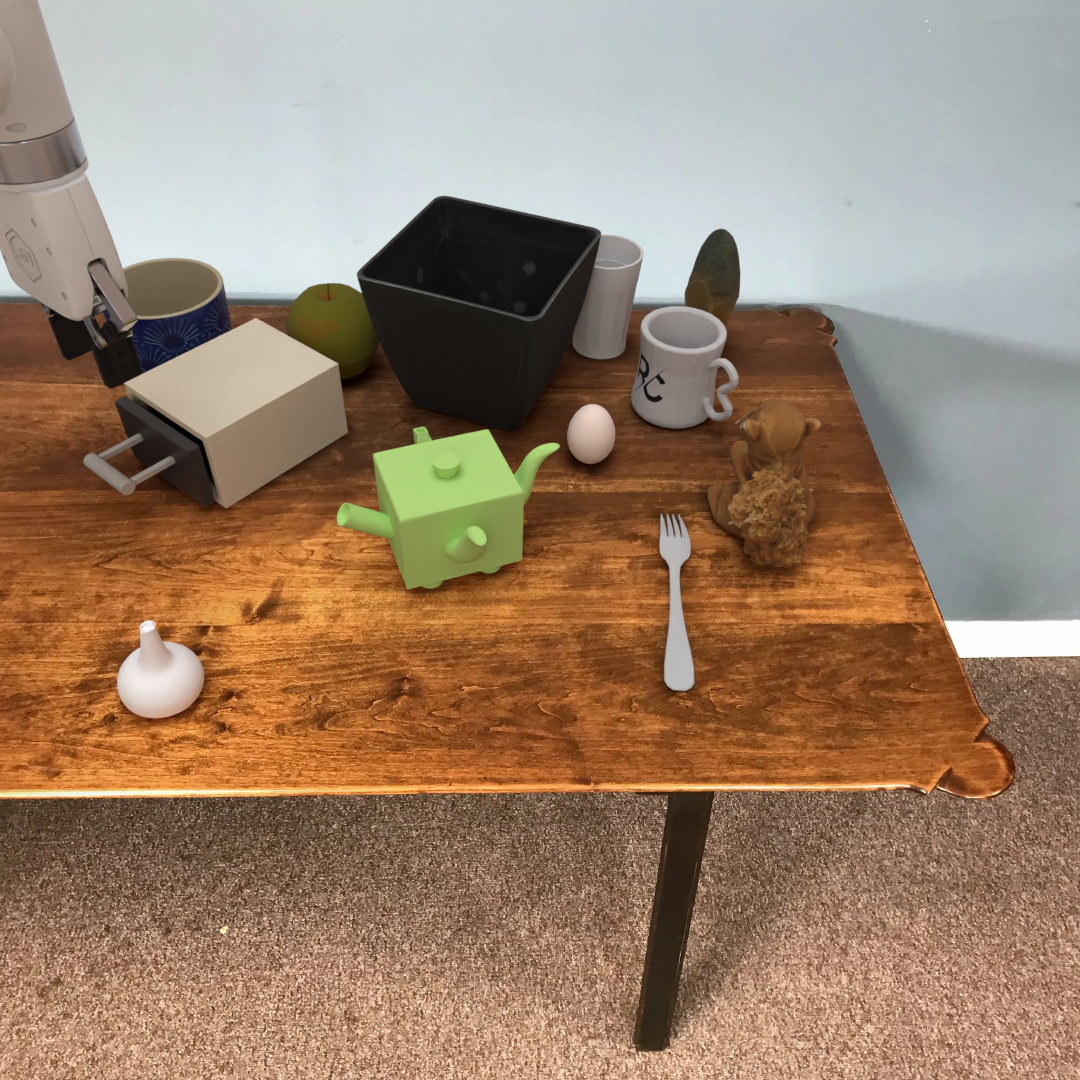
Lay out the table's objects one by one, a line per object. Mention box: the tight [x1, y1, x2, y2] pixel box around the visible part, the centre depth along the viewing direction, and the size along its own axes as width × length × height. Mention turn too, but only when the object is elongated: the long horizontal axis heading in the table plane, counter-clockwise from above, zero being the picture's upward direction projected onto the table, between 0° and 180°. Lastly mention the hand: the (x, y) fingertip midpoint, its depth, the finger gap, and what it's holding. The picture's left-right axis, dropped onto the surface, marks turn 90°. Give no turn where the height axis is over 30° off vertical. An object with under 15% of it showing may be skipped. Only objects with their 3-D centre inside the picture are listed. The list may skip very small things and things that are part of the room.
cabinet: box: [123, 317, 349, 509], centre depth 92 cm, size 16×13×9 cm
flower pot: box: [356, 195, 602, 433], centre depth 97 cm, size 19×19×17 cm
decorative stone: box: [684, 228, 741, 327], centre depth 104 cm, size 10×6×15 cm, turn 169°
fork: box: [659, 512, 695, 692], centre depth 81 cm, size 3×21×3 cm, turn 176°
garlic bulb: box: [116, 619, 205, 719], centre depth 70 cm, size 6×6×8 cm
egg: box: [566, 403, 616, 465], centre depth 92 cm, size 5×5×7 cm
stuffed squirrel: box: [706, 399, 822, 568], centre depth 83 cm, size 10×14×13 cm
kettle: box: [336, 426, 561, 591], centre depth 81 cm, size 15×14×11 cm
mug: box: [630, 305, 740, 430], centre depth 97 cm, size 12×9×10 cm
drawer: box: [83, 395, 216, 509], centre depth 89 cm, size 20×11×7 cm, turn 141°
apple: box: [284, 282, 380, 380], centre depth 101 cm, size 10×10×11 cm
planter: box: [97, 257, 233, 374], centre depth 99 cm, size 12×12×11 cm
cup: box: [572, 233, 644, 360], centre depth 106 cm, size 8×8×12 cm
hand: (102, 364), depth 77 cm, fingers open, 5 cm apart
